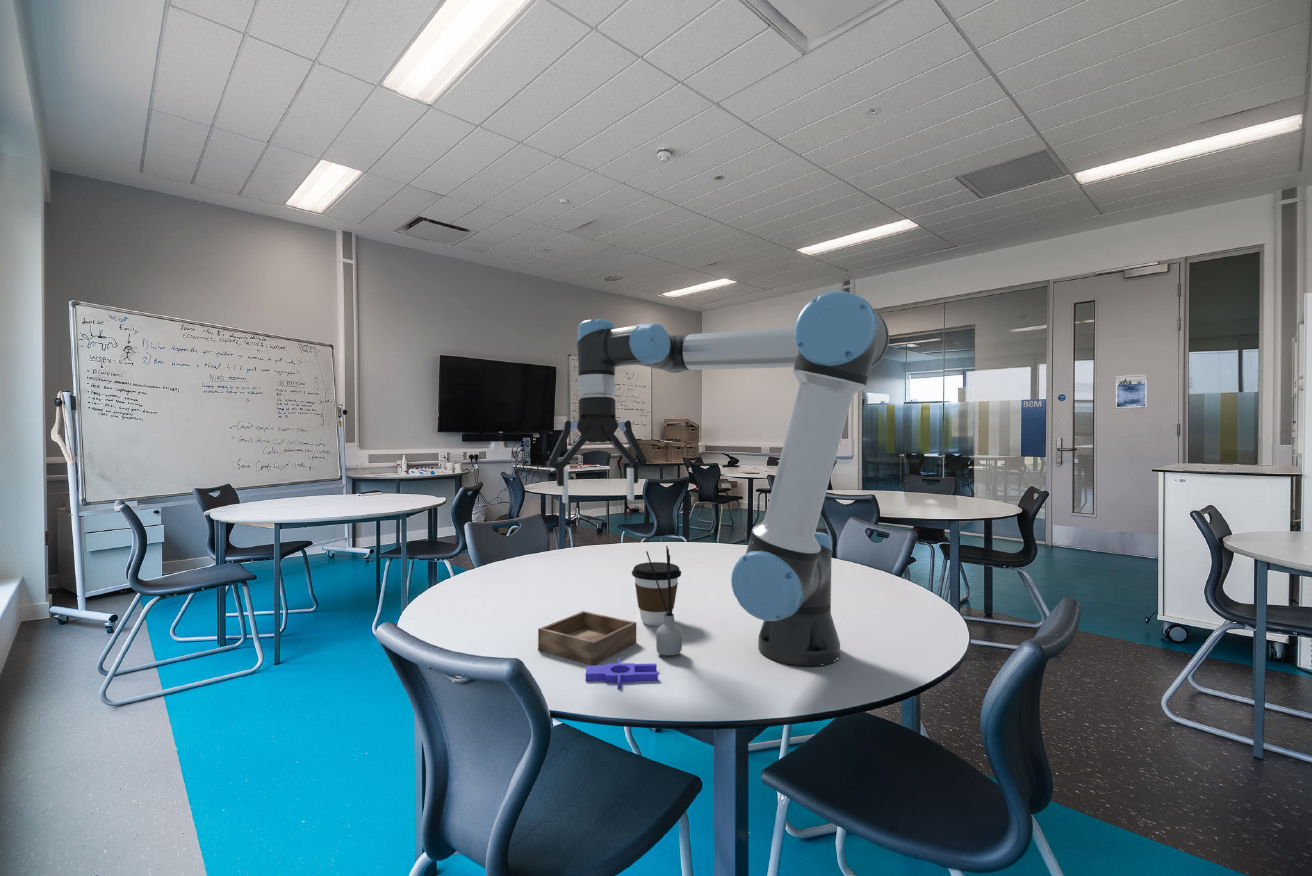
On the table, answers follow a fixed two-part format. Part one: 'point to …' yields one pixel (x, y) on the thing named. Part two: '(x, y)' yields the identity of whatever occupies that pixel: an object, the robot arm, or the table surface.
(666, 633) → the reed diffuser
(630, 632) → the tray
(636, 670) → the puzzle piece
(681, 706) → the table surface
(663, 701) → the table surface
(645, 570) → the coffee cup
